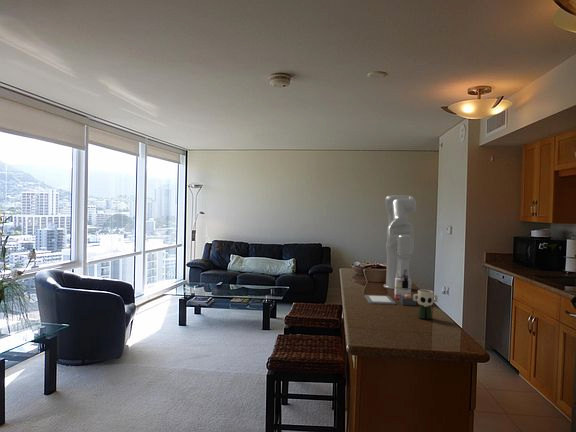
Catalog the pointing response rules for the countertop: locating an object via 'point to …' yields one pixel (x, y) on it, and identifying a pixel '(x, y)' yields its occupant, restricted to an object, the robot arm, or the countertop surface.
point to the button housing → (407, 301)
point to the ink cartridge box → (398, 287)
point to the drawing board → (379, 299)
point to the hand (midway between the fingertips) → (403, 286)
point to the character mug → (425, 303)
